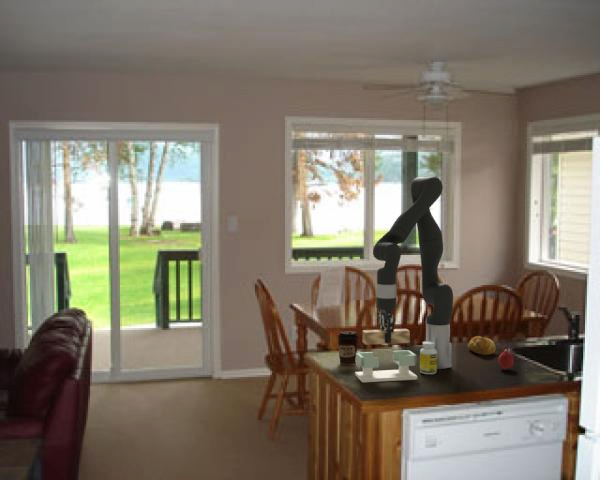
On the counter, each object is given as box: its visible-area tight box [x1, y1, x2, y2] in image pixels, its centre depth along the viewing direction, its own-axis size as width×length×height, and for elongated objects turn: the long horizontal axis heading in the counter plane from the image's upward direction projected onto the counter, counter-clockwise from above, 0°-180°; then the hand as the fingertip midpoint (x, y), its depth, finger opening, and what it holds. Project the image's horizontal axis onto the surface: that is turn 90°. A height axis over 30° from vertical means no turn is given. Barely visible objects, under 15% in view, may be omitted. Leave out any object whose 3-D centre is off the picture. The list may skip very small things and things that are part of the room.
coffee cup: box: [337, 330, 359, 366], centre depth 261 cm, size 9×8×13 cm
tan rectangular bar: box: [362, 328, 411, 346], centre depth 241 cm, size 17×4×4 cm, turn 100°
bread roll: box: [467, 335, 497, 356], centre depth 280 cm, size 13×10×8 cm
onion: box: [497, 349, 515, 371], centre depth 252 cm, size 6×6×8 cm
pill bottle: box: [419, 340, 438, 375], centre depth 248 cm, size 6×6×12 cm
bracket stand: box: [354, 349, 418, 383], centre depth 242 cm, size 21×10×9 cm, turn 100°
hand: (385, 341), depth 242 cm, fingers closed on tan rectangular bar, 4 cm apart
